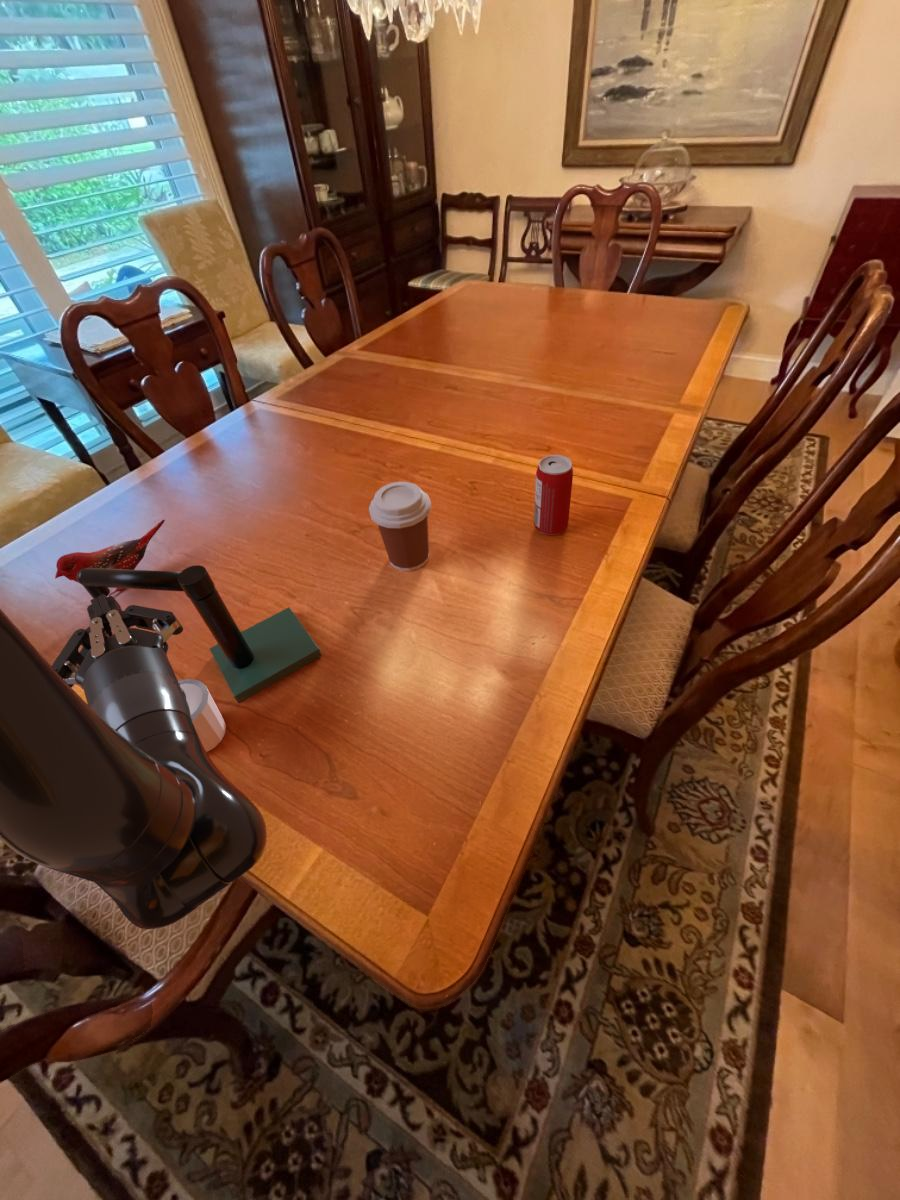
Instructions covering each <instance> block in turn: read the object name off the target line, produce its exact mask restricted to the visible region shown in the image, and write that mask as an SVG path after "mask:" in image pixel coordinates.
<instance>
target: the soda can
mask: <svg viewBox="0 0 900 1200" xmlns="http://www.w3.org/2000/svg"><path fill="white" fill-rule="evenodd" d="M573 478H574V469H573V462H572V460H571V459H570V458H569V457H567V456H565V455H561V454H550V455H546V456H544V457H542V458H541V459H540V460H539V461H538V465H537V468H536V472H535V492H534V511H533V512H534V515H533V525H534V528H535V529H536V530H537V531H538V532H539V533H541V534H543V535H546V536H556V535H557V536H558V535H560V534H562V533H563V532H565V531H566V530H567V529H568V527H569V520H570V519H569V518H570V511H571V510H570V508H571V500H572V488H573V481H574V480H573Z"/></svg>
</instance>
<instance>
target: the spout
mask: <svg viewBox="0 0 900 1200" xmlns="http://www.w3.org/2000/svg"><path fill="white" fill-rule="evenodd" d="M77 580H78V582H79V583H78V582H77V583H78V584H79V585H82V587H83V588H84V589H85V591H87V593H88V594H89V595H90V596H91V598H92V599H94V598H96V597H98V596H100V595H103V594H105V595H106V597H109V595H110V594H111V590H110V588H112V589H117V588H124V589H129V590H130V589H131V590H150V591H167V592H184V594H185V595H186V597H187V598H188V599H189V600H190V599H194V600H197V599H202V598H204V597H206V596H208V595H209V594H210V593H211V592H212V591H213V590H214V587H215V588H216V586H215V582H214V580H213V579H212V577H211V576H210V574H209V572H208V570H207V569H206V567H205V566H203V565H201V564H200V565H199V564H197V565H196V564H195V565H190V566H188V567H186V568H184V569H182V570H181V571H169V570H143V569H141V570H140V569H135V570H125V569H103V568H84V569H81V570H80V571H79V572H78V574H77Z"/></svg>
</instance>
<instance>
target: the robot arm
mask: <svg viewBox="0 0 900 1200" xmlns="http://www.w3.org/2000/svg"><path fill="white" fill-rule="evenodd" d="M90 603H91V604H89V605H88V606H87V608H86V610H87V614H88V617H89V626H88V627H87V628H86V629H85V628H79V629H76V630H75V631H74V632H73V633H72V635H71V636H70V638H69V639H68V640H67V642H66V643H65V645H64V646H63V648H62V649H61V651H60V653H59V654H58V655H57V657H56V658H55V660H54V661H53V662H52V664H50V663H49V662H48V661H47V660H46V658H45V657H44V656H42V654H41V653H40V651H38V650H37V649H36V648H35V646H34V645H33V643H31V642H30V641H29V639H28V638H27V637H26V636H25V635H24V633H23V632H22V631H21V630H20V629H19V628H18V627H17V625H16V624H14V622H13V621H12V619H10V617H8V616H7V614H6V613H5V612H4V611H3V610H2V608H0V842H2V843H4V844H5V845H6V846H7V847H8V848H10V849H11V850H12V851H13V852H15V853H16V854H17V855H19V856H21V857H22V858H24V859H26V860H28V861H30V862H32V863H35V864H37V865H39V866H41V867H45V868H47V869H50V870H53V871H57V872H60V873H63V874H65V875H70V876H73V877H76V878H79V879H83V880H86V881H89V882H93V883H94V884H96V885H97V886H98V887H99V888H100V889H101V890H102V891H103V892H104V893H106V895H108V896H109V897H110V898H111V900H113V902H114V903H115V904H116V906H117V907H118V909H119V910H120V912H121V913H122V914H123V916H124V917H125V918H126V919H127V920H128V921H129V922H130V923H131V924H132V925H133V926H134V927H137V928H139V929H141V930H142V929H143V930H156V929H162V928H166V927H168V926H171V925H173V924H175V923H177V922H179V921H180V920H182V919H184V918H185V917H187V916H188V915H190V913H191V912H194V911H195V910H196V909H198V908H199V907H200V906H201V905H203V904H204V903H205V902H207V901H208V900H210V899H211V898H213V897H214V896H215V895H217V894H218V893H219V892H221V891H222V890H224V889H225V888H226V887H228V886H229V885H230V884H231V883H233V882H235V881H236V880H238V879H239V878H240V877H242V876H243V875H245V874H246V873H247V872H248V871H250V870H251V869H252V868H253V867H254V866H255V865H257V864H258V862H259V861H260V859H261V858H262V857H263V855H264V852H265V850H266V845H267V839H268V833H267V832H268V831H267V825H266V821H265V818H264V817H263V814H262V813H261V811H260V810H259V808H258V807H257V806H256V805H255V803H254V802H253V801H252V800H251V799H250V798H249V797H248V796H247V795H246V794H245V793H244V792H243V790H241V789H239V787H237V786H236V785H235V784H234V783H233V782H232V781H231V780H230V779H228V777H226V775H224V773H223V772H222V771H221V770H220V769H219V768H218V767H217V766H216V764H215V763H214V761H213V760H212V758H211V757H210V755H209V754H208V752H206V750H205V749H204V746H203V744H202V742H201V740H200V737H199V735H198V733H197V730H196V728H195V726H194V724H193V722H192V718H191V714H190V709H189V706H188V703H187V700H186V695H185V692H184V690H182V688H181V687H180V685H179V682H178V681H179V680H178V678H177V675H176V673H175V671H174V669H173V667H172V664H171V661H170V660H169V658H168V650H169V644H168V642H167V641H168V640H169V639H170V638H171V636H172V635H173V636H178V635H180V634H181V633H183V632H184V627H183V625H182V624H181V623H180V620H178V618H177V617H176V615H175V614H174V612H173V611H169V610H165V609H164V610H163V609H159V608H158V609H157V608H153V607H147V606H141V605H137V604H136V605H135V604H132V605H131V604H130V605H129V606H127V607H125V609H124V610H123V609H122V606H121V605H120V604H119V602H118V601H117V599H116V598H115V597H114V596H112V595H110V596H109V595H108V596H107V597H106V595H105V594H103V595H100V596H98V597H96V598H94V599H93V598H92V599H90ZM80 647H81V649H80V651H79V648H80ZM75 685H80V686H81V689H82V690H83V693H84V697H85V699H86V701H85V700H84V699H83V698H82V697H81V696H80V695H79V694H78V693H77V692H76V691H75V690H74V688H73V687H74V686H75Z"/></svg>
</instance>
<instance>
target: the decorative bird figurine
mask: <svg viewBox="0 0 900 1200" xmlns="http://www.w3.org/2000/svg"><path fill="white" fill-rule="evenodd" d="M165 521H166V519H162V520H161V521H159V522H158V523H157V524H156V525H155V526H153V528H151V529H150V530H149V531H147V533H145V534H144V535H142V536H141V537H140V538H138V539H132V540H127V541H122V542H119V543H115V544H113V545H110V546H107V547H105V548H102V549H98V550H95V551H91V552H81V551H77V552H70V553H67V554H63V555H61V556H60V557H59V558H58V559H57V560H56V566H55V567H56V573H55V576H54V579H55V580H56V579H58V578H61V577H65V578H66V579H68V580H69V581H74V582H76V583H77V584H80V583H79V582H78V580H77V574H78V572H79V571H80V570H81V569H84V568H103V569H125V570H136V568H137V567H138V565H139V564H140V563H141V561H142V560H143V558H144V557H145V554H146V551H147V548H148V545H149V543H150V541H151V539H152V538H154V536H155V535H156V534H157V532H158V531H159V530H160V529H161V527H162V526H163V524H164V523H165ZM123 590H125V588H115V591H113V592H110V593H109V595H108V597H109V596H112V595H114V594H116V593H117V592H121V591H123Z"/></svg>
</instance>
